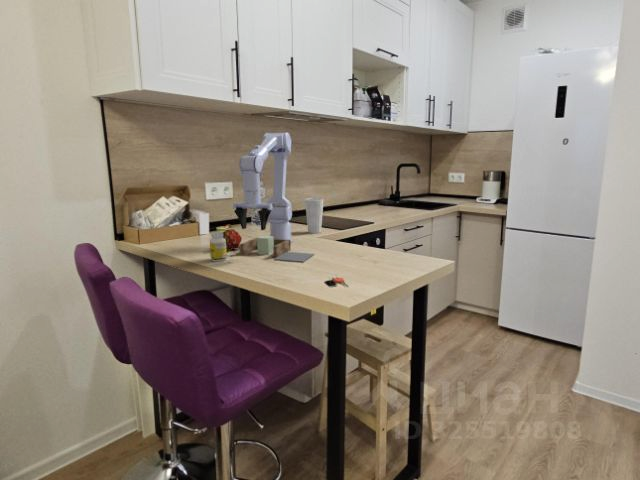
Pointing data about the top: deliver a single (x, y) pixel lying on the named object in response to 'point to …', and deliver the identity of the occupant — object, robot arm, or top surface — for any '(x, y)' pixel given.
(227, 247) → the dragon fruit
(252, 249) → the wooden u-shaped shelf
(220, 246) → the supplement bottle
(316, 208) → the cup
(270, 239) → the block
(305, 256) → the mat
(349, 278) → the top surface
